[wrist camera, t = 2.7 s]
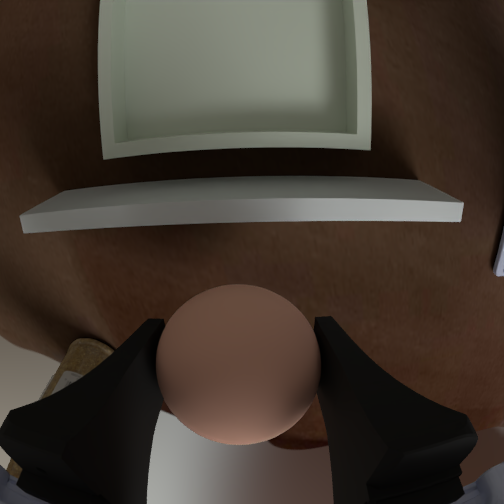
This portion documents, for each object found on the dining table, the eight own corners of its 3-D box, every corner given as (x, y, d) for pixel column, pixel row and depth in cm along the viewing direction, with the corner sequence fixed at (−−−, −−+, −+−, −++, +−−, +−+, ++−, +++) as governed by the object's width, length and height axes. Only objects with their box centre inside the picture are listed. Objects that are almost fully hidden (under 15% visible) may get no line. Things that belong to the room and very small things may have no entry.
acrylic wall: (419, 180, 14) (463, 202, 10) (417, 195, 14) (460, 222, 11) (64, 190, 14) (19, 215, 10) (67, 205, 14) (23, 233, 11)
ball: (313, 254, 12) (352, 359, 7) (303, 363, 14) (320, 467, 9) (164, 257, 12) (111, 358, 7) (184, 364, 14) (162, 466, 9)
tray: (344, -54, 9) (355, -72, 7) (355, 145, 13) (370, 150, 12) (122, -43, 9) (107, -58, 7) (121, 153, 13) (103, 159, 12)
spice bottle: (60, 348, 19) (-22, 502, 6) (95, 325, 18) (0, 514, 5) (104, 389, 20) (48, 544, 8) (143, 372, 19) (89, 559, 7)
